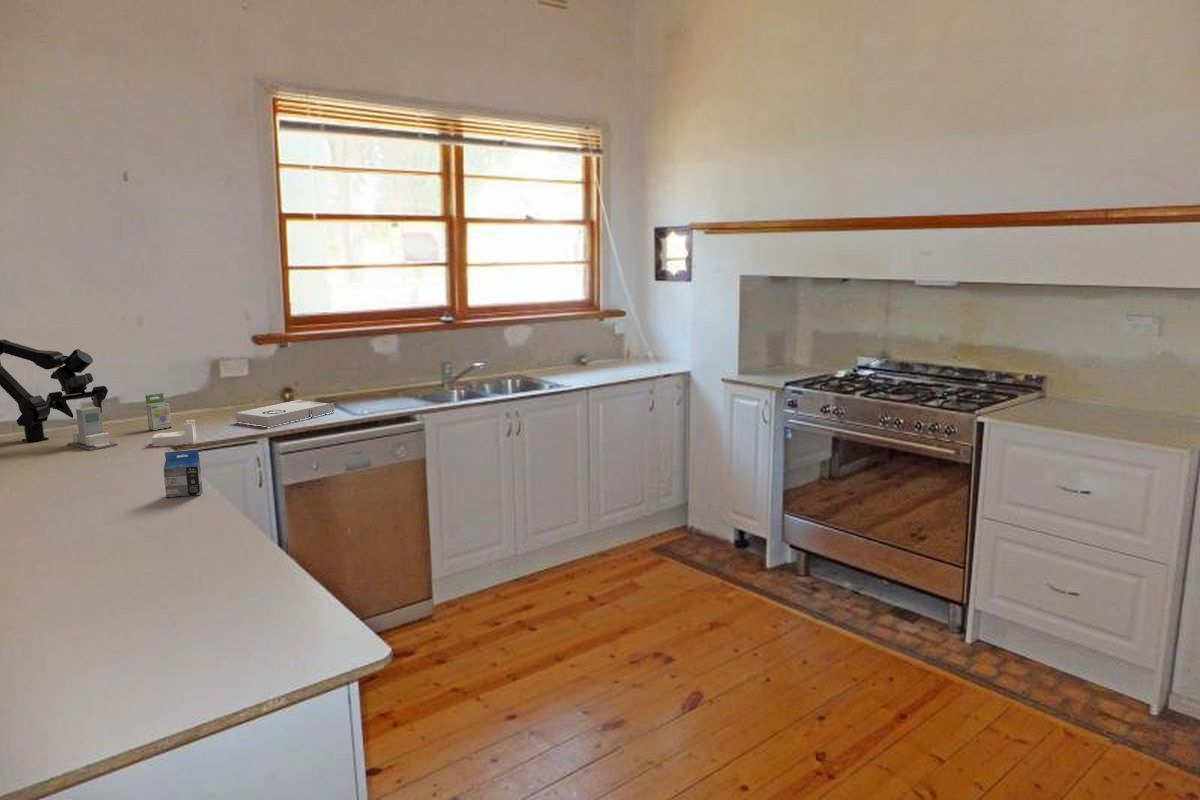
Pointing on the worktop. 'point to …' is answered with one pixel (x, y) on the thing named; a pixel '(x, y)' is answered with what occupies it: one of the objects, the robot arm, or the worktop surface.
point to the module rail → (93, 441)
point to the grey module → (89, 422)
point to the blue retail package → (182, 474)
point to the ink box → (158, 412)
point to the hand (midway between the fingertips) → (87, 415)
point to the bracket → (176, 436)
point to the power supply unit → (283, 413)
